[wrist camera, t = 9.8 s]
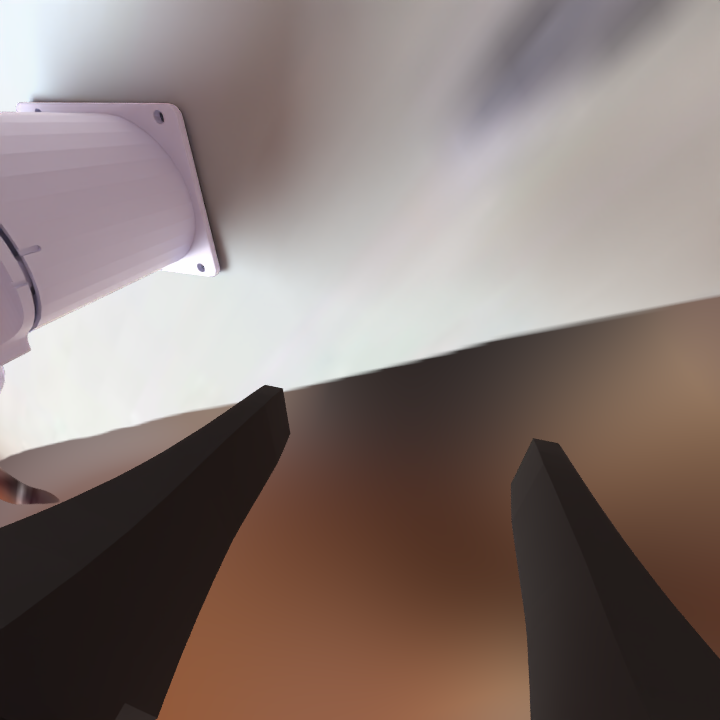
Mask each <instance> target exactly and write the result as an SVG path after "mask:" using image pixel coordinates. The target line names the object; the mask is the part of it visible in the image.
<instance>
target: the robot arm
mask: <svg viewBox="0 0 720 720" xmlns="http://www.w3.org/2000/svg"><path fill="white" fill-rule="evenodd" d="M16 111H17V112H0V393H1V391H2V388H3V385H4V381H5V371H4V368H3V365H4V364H6V363H8V362H10V361H12V360H14V359H16V358H18V357H19V356H21V355H23V354H25V353H27V352H29V351H31V348H30V345H29V343H28V338H27V335H28V333H29V332H31V331H33V330H36V329H38V328H40V327H42V326H44V325H46V324H48V323H50V322H52V321H54V320H56V319H58V318H61V317H63V316H65V315H67V314H69V313H71V312H73V311H75V310H77V309H79V308H81V307H83V306H86V305H88V304H90V303H92V302H94V301H96V300H98V299H100V298H102V297H104V296H106V295H108V294H111V293H113V292H115V291H117V290H119V289H121V288H123V287H125V286H127V285H129V284H131V283H133V282H136V281H138V280H140V279H142V278H144V277H146V276H148V275H150V274H152V273H154V272H156V271H158V270H163V271H170V272H178V273H186V274H194V275H201V276H209V277H214V276H216V275H217V274H219V272H220V266H219V262H218V258H217V254H216V250H215V246H214V242H213V238H212V234H211V230H210V226H209V222H208V218H207V213H206V209H205V205H204V201H203V197H202V193H201V189H200V185H199V181H198V177H197V173H196V169H195V165H194V161H193V157H192V152H191V148H190V144H189V140H188V136H187V132H186V128H185V124H184V120H183V116H182V114H181V112H180V110H179V109H178V107H176V106H175V105H174V104H170V103H59V102H19V103H17V105H16ZM160 112H161V113H162V115H163V117H164V122H163V121H162V120H161V118H160ZM201 264H202V265H203V266H204V267H205V269H204V268H203V267H202V265H201ZM289 435H290V429H289V423H288V417H287V412H286V405H285V399H284V393H283V388H278V387H273V386H268V385H264V386H262V387H261V388H259V389H258V390H256V391H255V392H253V393H252V394H251V395H249V396H248V397H246V398H245V399H243V400H242V401H241V402H239V403H238V404H236V405H235V406H233V407H232V408H230V409H229V410H228V411H226V412H225V413H223V414H222V415H220V416H219V417H217V418H216V419H214V420H213V421H211V422H210V423H208V424H207V425H205V426H204V427H202V428H201V429H199V430H198V431H196V432H194V433H193V434H191V435H190V436H188V437H186V438H185V439H183V440H182V441H180V442H178V443H177V444H175V445H174V446H172V447H170V448H169V449H167V450H165V451H164V452H162V453H160V454H158V455H157V456H155V457H153V458H151V459H150V460H148V461H146V462H144V463H142V464H141V465H139V466H137V467H135V468H133V469H131V470H129V471H127V472H125V473H124V474H122V475H120V476H118V477H116V478H114V479H112V480H110V481H107V482H105V483H103V484H101V485H99V486H97V487H95V488H93V489H91V490H88V491H86V492H84V493H82V494H80V495H78V496H76V497H74V498H71V499H69V500H67V501H65V502H62V503H60V504H58V505H55V506H53V507H51V508H48V509H46V510H44V511H41V512H39V513H37V514H34V515H32V516H29V517H27V518H24V519H22V520H19V521H17V522H14V523H12V524H9V525H7V526H4V527H1V528H0V720H155V719H157V718H158V715H159V712H160V710H161V707H162V704H163V702H164V699H165V696H166V694H167V691H168V689H169V686H170V683H171V681H172V678H173V676H174V673H175V671H176V668H177V665H178V663H179V660H180V658H181V655H182V653H183V650H184V648H185V646H186V643H187V641H188V638H189V636H190V634H191V631H192V629H193V626H194V624H195V622H196V619H197V617H198V615H199V612H200V610H201V608H202V605H203V603H204V601H205V599H206V596H207V594H208V592H209V590H210V588H211V585H212V583H213V581H214V579H215V576H216V574H217V572H218V570H219V568H220V566H221V564H222V561H223V559H224V557H225V555H226V553H227V551H228V549H229V547H230V545H231V543H232V541H233V539H234V537H235V535H236V533H237V532H238V530H239V528H240V526H241V525H242V523H243V521H244V519H245V518H246V516H247V514H248V513H249V511H250V509H251V507H252V506H253V504H254V502H255V501H256V499H257V497H258V496H259V494H260V492H261V491H262V489H263V487H264V485H265V484H266V482H267V480H268V479H269V477H270V475H271V473H272V471H273V470H274V468H275V466H276V465H277V463H278V461H279V458H280V456H281V454H282V452H283V450H284V447H285V445H286V442H287V440H288V438H289ZM511 513H512V514H511V515H512V528H513V535H514V542H515V550H516V557H517V564H518V571H519V578H520V584H521V592H522V599H523V605H524V613H525V621H526V631H527V643H528V665H529V684H530V709H531V710H530V711H531V720H720V659H719V658H718V657H717V655H716V654H715V653H714V652H713V651H712V649H711V648H710V647H709V646H708V645H707V644H706V642H705V641H704V640H703V639H702V638H701V637H700V635H699V634H698V633H697V632H696V631H695V629H694V628H693V627H692V626H691V625H690V624H689V622H688V621H687V620H686V619H685V618H684V616H683V615H682V614H681V613H680V612H679V611H678V610H677V609H676V607H675V606H674V605H673V603H672V602H671V601H670V600H669V598H668V597H667V596H666V595H665V593H664V592H663V591H662V590H661V588H660V587H659V586H658V585H657V583H656V582H655V581H654V579H653V578H652V577H651V576H650V574H649V573H648V571H647V570H646V569H645V568H644V566H643V565H642V564H641V562H640V561H639V560H638V558H637V557H636V556H635V555H634V553H633V552H632V550H631V549H630V548H629V546H628V545H627V544H626V542H625V541H624V540H623V538H622V537H621V535H620V534H619V532H618V531H617V530H616V528H615V527H614V525H613V524H612V523H611V521H610V520H609V518H608V517H607V515H606V514H605V513H604V511H603V510H602V508H601V507H600V505H599V504H598V503H597V501H596V499H595V498H594V497H593V495H592V494H591V492H590V491H589V489H588V487H587V486H586V485H585V483H584V482H583V480H582V478H581V477H580V475H579V474H578V472H577V471H576V469H575V468H574V466H573V465H572V463H571V462H570V460H569V458H568V457H567V455H566V454H565V452H564V451H563V449H562V448H561V446H560V445H559V444H558V443H554V442H549V441H544V440H539V439H534V438H533V440H532V442H531V444H530V446H529V448H528V450H527V452H526V454H525V456H524V458H523V460H522V462H521V465H520V466H519V469H518V471H517V473H516V475H515V477H514V479H513V481H512V483H511Z"/></svg>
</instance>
